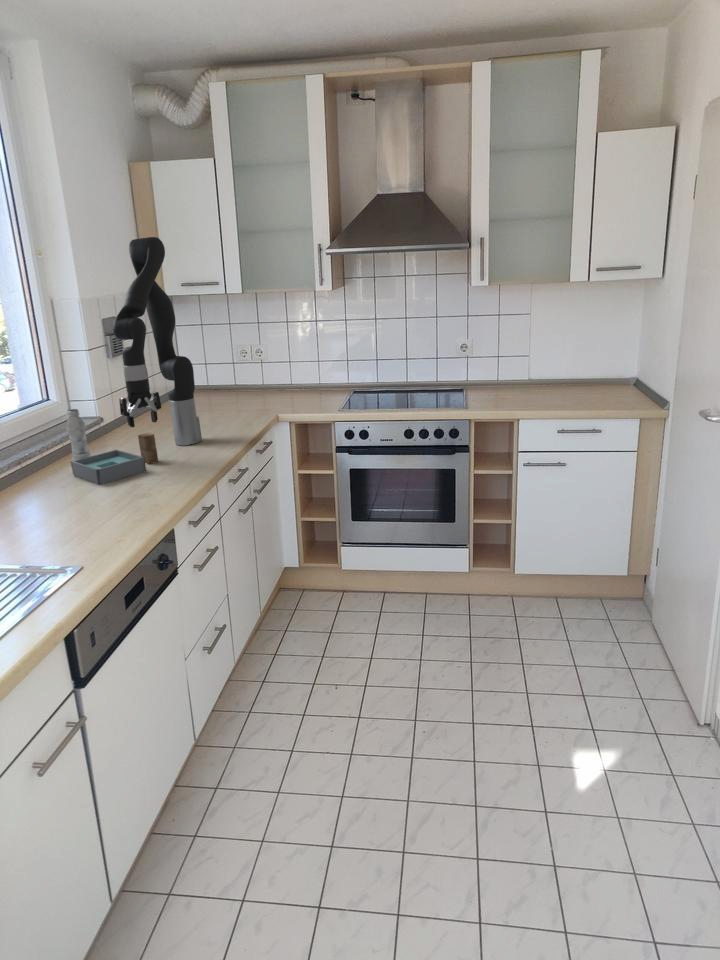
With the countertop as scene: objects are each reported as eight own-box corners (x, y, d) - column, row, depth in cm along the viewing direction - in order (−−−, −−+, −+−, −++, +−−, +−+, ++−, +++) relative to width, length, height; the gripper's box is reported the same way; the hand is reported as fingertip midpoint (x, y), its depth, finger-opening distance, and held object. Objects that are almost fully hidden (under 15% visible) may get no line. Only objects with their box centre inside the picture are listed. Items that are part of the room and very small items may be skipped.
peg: (152, 459, 252) (148, 432, 248) (158, 461, 249) (154, 434, 246) (142, 462, 249) (137, 435, 246) (148, 464, 246) (143, 436, 243)
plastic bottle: (72, 469, 246) (61, 413, 240) (74, 464, 252) (64, 409, 246) (92, 466, 247) (81, 411, 241) (93, 461, 254) (83, 407, 248)
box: (119, 463, 250) (116, 449, 248) (146, 471, 238) (143, 457, 237) (73, 475, 238) (70, 461, 237) (99, 484, 226) (96, 470, 225)
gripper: (149, 374, 247) (155, 419, 252) (111, 380, 237) (119, 427, 242) (161, 375, 242) (167, 421, 247) (123, 382, 232) (130, 430, 237)
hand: (143, 424), depth 245 cm, fingers open, 8 cm apart
